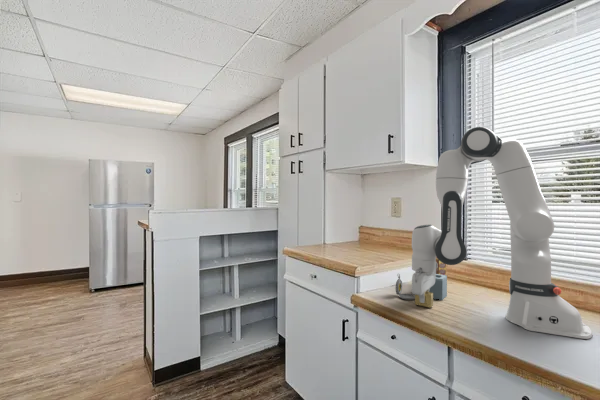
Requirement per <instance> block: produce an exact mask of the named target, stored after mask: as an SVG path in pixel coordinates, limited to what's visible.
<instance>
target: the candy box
mask: <svg viewBox="0 0 600 400" xmlns="http://www.w3.org/2000/svg"><path fill="white" fill-rule="evenodd" d="M436 262H437V268H436V274H440V275H447V264H444V263H442V262H441V261H440V260H439V259H438V258H437V257H436Z"/></svg>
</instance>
